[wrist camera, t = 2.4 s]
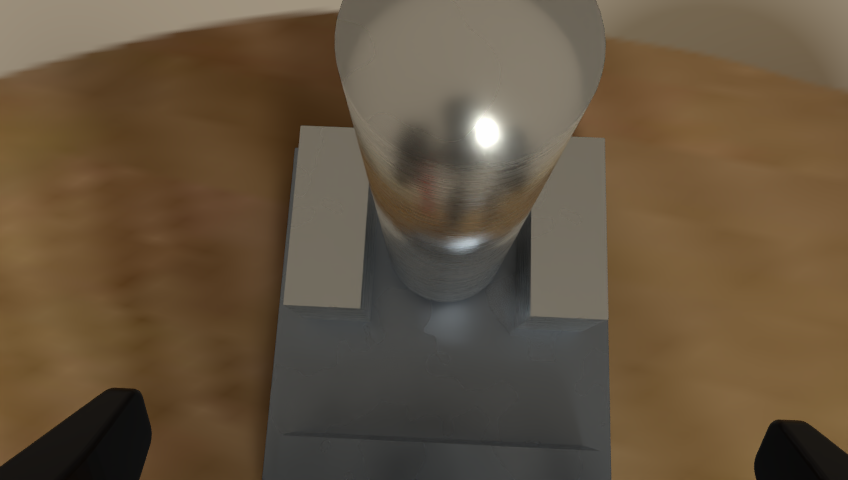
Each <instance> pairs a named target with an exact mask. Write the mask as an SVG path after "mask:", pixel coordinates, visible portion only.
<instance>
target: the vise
mask: <svg viewBox="0 0 848 480" xmlns="http://www.w3.org/2000/svg"><path fill="white" fill-rule="evenodd" d="M262 480H611V446H610V396H609V346H608V274H607V225H606V176H605V138H591V137H571V138H570V140H569V141H568V143H567V145H566V147H565V149H564V151H563V152H562V154H561V156H560V158H559V160H558V161H557V163H556V165H555V167H554V169H553V171H552V172H551V174H550V176H549V178H548V180H547V182H546V183H545V185H544V187H543V189H542V191H541V193H540V194H539V196H538V198H537V200H536V202H535V203H534V205H533V207H532V209H531V211H530V213H529V214H528V216H527V218H526V220H525V222H524V224H523V225H522V227H521V229H520V231H519V233H518V235H517V236H516V238H515V240H514V242H513V244H512V245H511V247H510V249H509V251H508V253H507V255H506V256H505V258H504V260H503V262H502V264H501V266H500V267H499V269H498V271H497V273H496V275H495V276H494V278H493V279H492V280H491V282H490V283H489V284H488V285H487V286H486V287H485V288H484V289H482V290H481V291H480V292H478V293H477V294H475V295H473V296H471V297H469V298H466V299H463V300H460V301H454V302H439V301H433V300H429V299H426V298H424V297H421V296H419V295H417V294H416V293H414V292H413V291H411V290H410V289H408V288H407V287H406V286H405V285H404V284H403V283H402V281H401V280H400V279H399V278H398V276H397V275H396V273H395V271H394V269H393V267H392V265H391V261H390V258H389V254H388V250H387V247H386V243H385V239H384V236H383V232H382V229H381V225H380V221H379V218H378V214H377V210H376V207H375V203H374V199H373V196H372V192H371V188H370V185H369V181H368V177H367V174H366V170H365V166H364V163H363V159H362V155H361V152H360V148H359V144H358V141H357V137H356V133H355V130H354V128H348V127H323V126H301V128H300V138H299V148H295V154H294V164H293V174H292V184H291V194H290V204H289V214H288V224H287V234H286V244H285V254H284V265H283V275H282V285H281V295H280V305H279V315H278V325H277V335H276V345H275V355H274V365H273V375H272V386H271V396H270V406H269V416H268V426H267V436H266V446H265V456H264V466H263V476H262Z"/></svg>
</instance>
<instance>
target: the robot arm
mask: <svg viewBox="0 0 848 480" xmlns="http://www.w3.org/2000/svg"><path fill="white" fill-rule="evenodd" d="M151 435H152V432H151V425H150V422H149V418H148V414H147V411H146V407H145V403H144V400H143V396H142V394H141V392H140V391H139V390H137V389H130V388H110V389H108V390H106V391H104V392H103V393H101V394H100V395H98V396H97V397H96V398H94V399H93V400H91V401H90V402H89V403H87V404H86V405H85V406H83V407H82V408H80V409H79V410H78V411H76V412H75V413H74V414H72V415H71V416H69V417H68V418H67V419H65V420H64V421H63V422H61V423H60V424H58V425H57V426H56V427H54V428H53V429H51V430H50V431H49V432H47V433H46V434H45V435H43V436H42V437H40V438H39V439H38V440H36V441H35V442H34V443H32V444H31V445H29V446H28V447H27V448H25V449H24V450H23V451H21V452H20V453H18V454H17V455H16V456H14V457H13V458H11V459H10V460H9V461H7V462H6V463H5V464H3V465H2V466H0V480H139V479H140V476H141V472H142V469H143V466H144V463H145V460H146V456H147V453H148V450H149V447H150V443H151ZM754 470H755V476H756V480H848V454H847V453H845V452H844V451H843V450H842V449H840V448H839V447H838V446H836V445H835V444H834V443H833V442H831V441H830V440H829V439H828V438H826V437H825V436H824V435H822V434H821V433H820V432H819V431H817V430H816V429H815V428H814V427H812V426H811V425H809V424H808V423H806V422H804V421H798V420H775V421H773V422H772V423H771V424H770V425H769V427H768V430H767V432H766V434H765V436H764V439H763V441H762V443H761V446H760V448H759V450H758V452H757V455H756V458H755V462H754Z"/></svg>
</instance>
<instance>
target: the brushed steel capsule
mask: <svg viewBox="0 0 848 480" xmlns="http://www.w3.org/2000/svg"><path fill="white" fill-rule="evenodd" d="M605 47H606V41H605V31H604V25H603V20H602V17H601V13H600V10H599V7H598V5H597V2H596V0H343V1H342V4H341V8H340V11H339V14H338V17H337V23H336V29H335V55H336V62H337V67H338V71H339V75H340V78H341V82H342V86H343V89H344V93H345V97H346V100H347V104H348V108H349V111H350V115H351V119H352V122H353V126H354V130H355V133H356V137H357V141H358V144H359V148H360V152H361V155H362V159H363V163H364V166H365V170H366V174H367V177H368V181H369V185H370V188H371V192H372V196H373V199H374V203H375V207H376V210H377V214H378V218H379V221H380V225H381V229H382V232H383V236H384V239H385V243H386V247H387V250H388V254H389V258H390V261H391V265H392V267H393V269H394V271H395V273H396V275H397V276H398V278H399V279H400V280H401V281H402V283H403V284H404V285H405V286H406V287H407V288H408V289H410V290H411V291H413V292H414V293H416V294H417V295H419V296H421V297H424V298H426V299H429V300H433V301H439V302H454V301H460V300H463V299H466V298H469V297H471V296H473V295H475V294H477V293H478V292H480V291H481V290H482V289H484V288H485V287H486V286H487V285H488V284H489V283H490V282H491V280H492V279H493V278H494V276H495V275H496V273H497V271H498V269H499V267H500V266H501V264H502V262H503V260H504V258H505V256H506V255H507V253H508V251H509V249H510V247H511V245H512V244H513V242H514V240H515V238H516V236H517V235H518V233H519V231H520V229H521V227H522V225H523V224H524V222H525V220H526V218H527V216H528V214H529V213H530V211H531V209H532V207H533V205H534V203H535V202H536V200H537V198H538V196H539V194H540V193H541V191H542V189H543V187H544V185H545V183H546V182H547V180H548V178H549V176H550V174H551V172H552V171H553V169H554V167H555V165H556V163H557V161H558V160H559V158H560V156H561V154H562V152H563V151H564V149H565V147H566V145H567V143H568V141H569V140H570V138H571V136H572V134H573V132H574V130H575V129H576V127H577V125H578V123H579V121H580V120H581V118H582V116H583V114H584V112H585V110H586V109H587V107H588V105H589V103H590V101H591V99H592V97H593V96H594V94H595V92H596V90H597V87H598V84H599V81H600V78H601V76H602V71H603V66H604V61H605Z"/></svg>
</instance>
